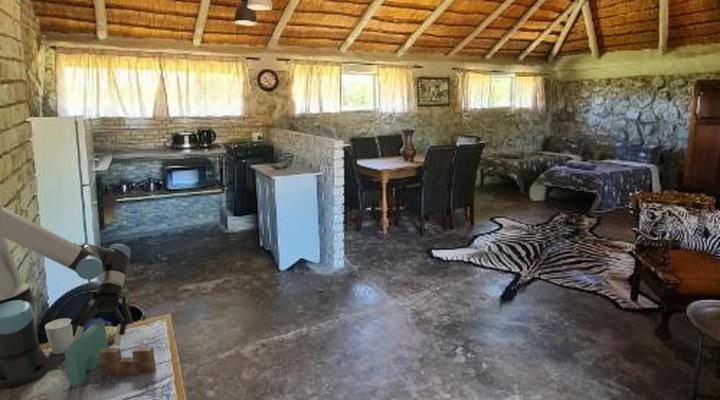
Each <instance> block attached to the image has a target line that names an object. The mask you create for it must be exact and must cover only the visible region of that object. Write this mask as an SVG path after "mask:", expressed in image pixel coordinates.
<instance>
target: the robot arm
mask: <svg viewBox="0 0 720 400" xmlns="http://www.w3.org/2000/svg"><path fill="white" fill-rule="evenodd" d="M6 239H7V240H9V241H11V242H14V243H15V244H17V245H19V246H22V247H24V248H26V249H28V250H30V251H32V252H35V253H36V254H38V255H41V256H43V257H44V258H47V259H49V260H51V261H52V262H54V263H56V264H57V263H58V264H59V265H61V266H63V267H65V268H67V269H69V270H72V271H74V272H76V274H77V276H79V277H80V278H81V279H82V280H86V281H87V280H89V281H90V280H94V279H96V278H97V277H99V275H101V277H100V281H99V286H98V289H97V293H96V298H95V299H93V298H92V299H91V298H90V297H88V298H86V299H85V302H84V304H83V305H82V307H81V308H80V309H79V311H78V312H77V313H76V314H75V316H73V318H72V319H71V322H70V324H71V325H72V327H74V330H73V342H74V341H75V340H76V339H77V338H78V337H79V336H80V335H82V334H83V333H84V330H85V328H84V326H85V325H86V324H87V323H88V322H89V321H90V320H92V318H94V316H95V315H97V314H99V313H100V312H101V313H105V312H108V313H109V312H111V311H112V312H113V314H114V315H115V316H116V318H117V319H118V321H119V323H118V324H117V327H116V329H117V331H116V335H115V339H114V340H113V344H114V345H115V346H117V347H118V346H120V343H121V340H122V336H124V335H125V332H126V329H127V326H128V325H133V323H134V320H133V318H132V317H133V316H132V314H131V310H130V307H129V299H128V298H127V297H126V296H123V297H122V298H121V295H122V292H123V291H122V290H123V286H124V282H125V280H126V279H125V278H126V274H127V270H128V266H129V263H130V258H131V248H130V247H129V246H127V245H125V244H122V243H120V244H119V243H114V244H113V243H112V244H111V245H110V246H109V247H103V246H99V245H94V244H91V243H87V242H81V241H75V242H72V241H70V240H67V239H66V238H64V237H61V235H58V234H56V233H54V232H52V231H50V230H48V229H46V228H44V227H42V226H41V225H38V224H37V223H34V222H33V221H30V220H29V219H27V218H25V217H23V216H21V215H19V214H17V213H15V212H13V211H11V210H9V209H7V208H5V207H4V206H3V204H2V202H1V201H0V389H10V388H16V387H19V386H24V385H26V384H29V383H31V382H33V381H35V380H38V379H39V378H41V377H43V376H44V375H45V374H46V373H48V371H49V370H50V368H51V363H50V359H49V357H48V356H47V355H46V353H45V351H43V349H42V347H41V346H40V342H39V337H38V331H37V327H36V326H37V325H36V323H37V315H38V312H39V301H38V299H37V297H36V295H35V294H34V293H33V292H32V289H31V287H30V285H29V284H28V283H25V282H22V279H21V276H20V274H19V271H18V269H17V266H16V263H15V261H14V258H13V256H12V254H11V250H10V249H9V246H8V243H7V240H6ZM101 273H102V274H101ZM119 304H121V308H122V310H123V313H124V316H125V317H124V316H123V315H122V314H121V312H120V310H119V308H118V307H117V306H118V305H119Z"/></svg>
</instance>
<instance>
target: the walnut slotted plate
mask: <svg viewBox="0 0 720 400" xmlns="http://www.w3.org/2000/svg"><path fill="white" fill-rule="evenodd" d="M121 351H122V350H121V348H120V347H112V348H111V347H110V348H109V347H108V348H105V349H102V350H101V351H100V352H99V357H100V368H101V374H102V376H115V375H116V376H117V375H140V374H141V375H142V374H154V372H155V371H156V369H157V366H156V360H155V352H154V347H153V346H137V347H136V346H135V348H133V350H132V352H131V353H132V356H131V357H130V356H129V357H128V356H127V357H126V356H125V357H123V356H122V353H121Z"/></svg>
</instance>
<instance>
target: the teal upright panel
mask: <svg viewBox="0 0 720 400" xmlns="http://www.w3.org/2000/svg"><path fill="white" fill-rule="evenodd" d="M105 327H106V326H105V321H95V322H94V323H93V324H92V325H90V326H89V327H88V328H87V329H86V330H85V331H83V333H82V335H80V336H79V337H78V338H77V339H76V340H75V341H74V340H73V341H74V342H73V343H72V344H70V345H69V346H68V347H67V348H66V349H65V350H64V353H63V354H64V357H65V364H66V367H67V368H66V370H67V376H68V380H69V385H70V386H81V384H83V382H84V381H86V380H87V371H89V370H90V371H92V370H95V369H96V368H97V367H98V366H99V365H101V363H100V357H99V352H100V351H101V350H102V349H105V348H109V345H108V344H109V343H108V344H107V338H106V332H105Z"/></svg>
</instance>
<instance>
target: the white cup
mask: <svg viewBox="0 0 720 400" xmlns="http://www.w3.org/2000/svg"><path fill="white" fill-rule="evenodd" d="M71 321H72V319H71V318H67V317H66V318H65V317H64V318H58V319H55V320H52V321H50V322H48V323H46V324H45V325H44V329H45V334H46V337H47V340H48V345H49V346H50V351H51V354H54V355H59V354H60V355H61V354H65V353H64V350H65V349H66V348H67V347H68V346H69V345H70V344H72V343H73V341H74V336H73V332H74V330H73V325H71V324H70V322H71Z"/></svg>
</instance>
